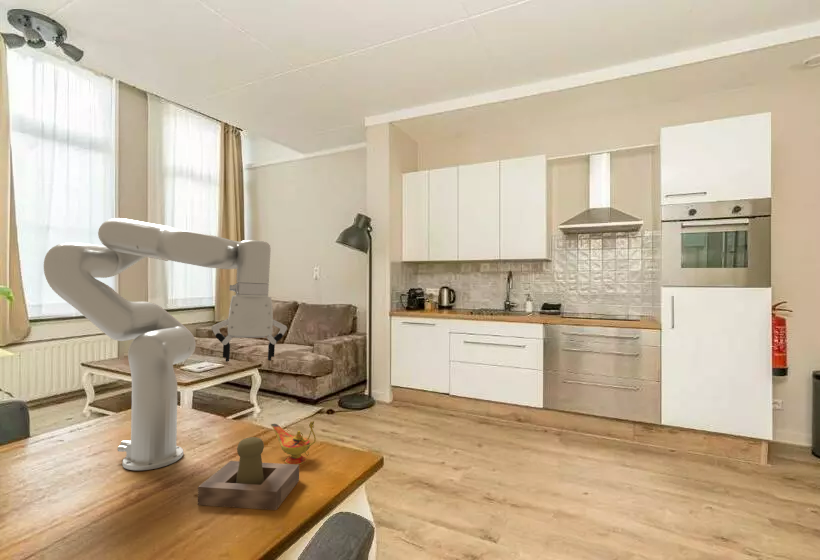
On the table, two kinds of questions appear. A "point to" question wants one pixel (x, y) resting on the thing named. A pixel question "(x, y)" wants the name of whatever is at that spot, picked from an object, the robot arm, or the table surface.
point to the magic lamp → (294, 444)
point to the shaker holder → (249, 487)
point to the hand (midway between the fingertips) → (248, 360)
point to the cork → (250, 461)
